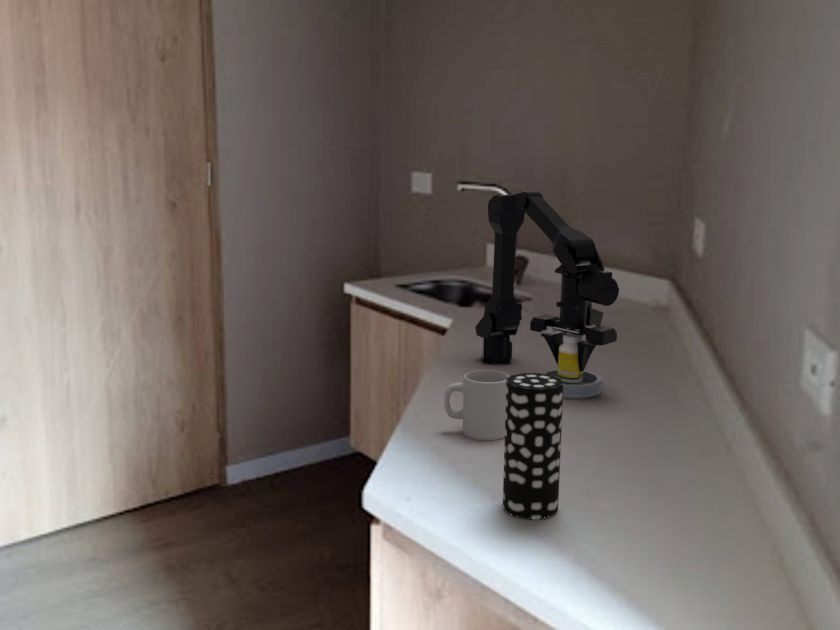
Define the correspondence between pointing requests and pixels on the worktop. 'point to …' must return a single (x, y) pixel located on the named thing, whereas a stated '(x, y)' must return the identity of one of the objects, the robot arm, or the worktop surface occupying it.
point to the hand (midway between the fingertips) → (570, 368)
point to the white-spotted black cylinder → (532, 444)
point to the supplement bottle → (569, 359)
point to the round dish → (580, 385)
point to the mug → (481, 404)
